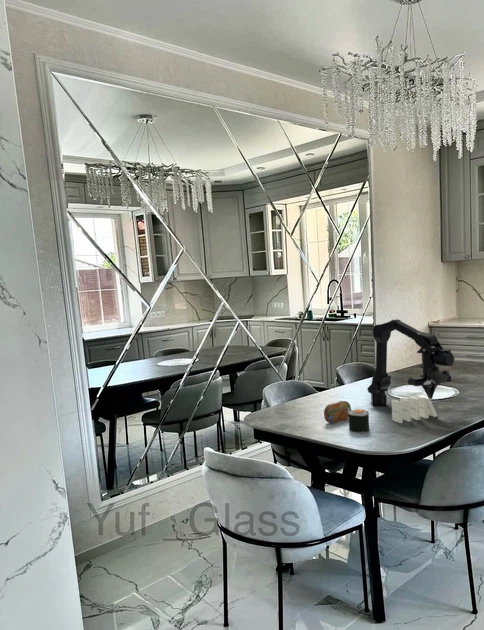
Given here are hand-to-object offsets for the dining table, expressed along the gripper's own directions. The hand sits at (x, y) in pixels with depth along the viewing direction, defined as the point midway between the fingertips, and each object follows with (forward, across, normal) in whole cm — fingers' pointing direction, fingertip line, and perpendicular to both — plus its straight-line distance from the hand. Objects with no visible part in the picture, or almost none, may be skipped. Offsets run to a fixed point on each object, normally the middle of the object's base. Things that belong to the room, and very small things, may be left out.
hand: (430, 398), depth 212 cm
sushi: (+8, -37, -2) cm, 38 cm away
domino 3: (+8, -8, 0) cm, 11 cm away
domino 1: (+8, -17, 0) cm, 19 cm away
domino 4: (+7, -4, 0) cm, 8 cm away
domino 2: (+8, -13, 0) cm, 15 cm away
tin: (+8, -39, +13) cm, 42 cm away
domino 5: (+7, 0, 0) cm, 7 cm away
